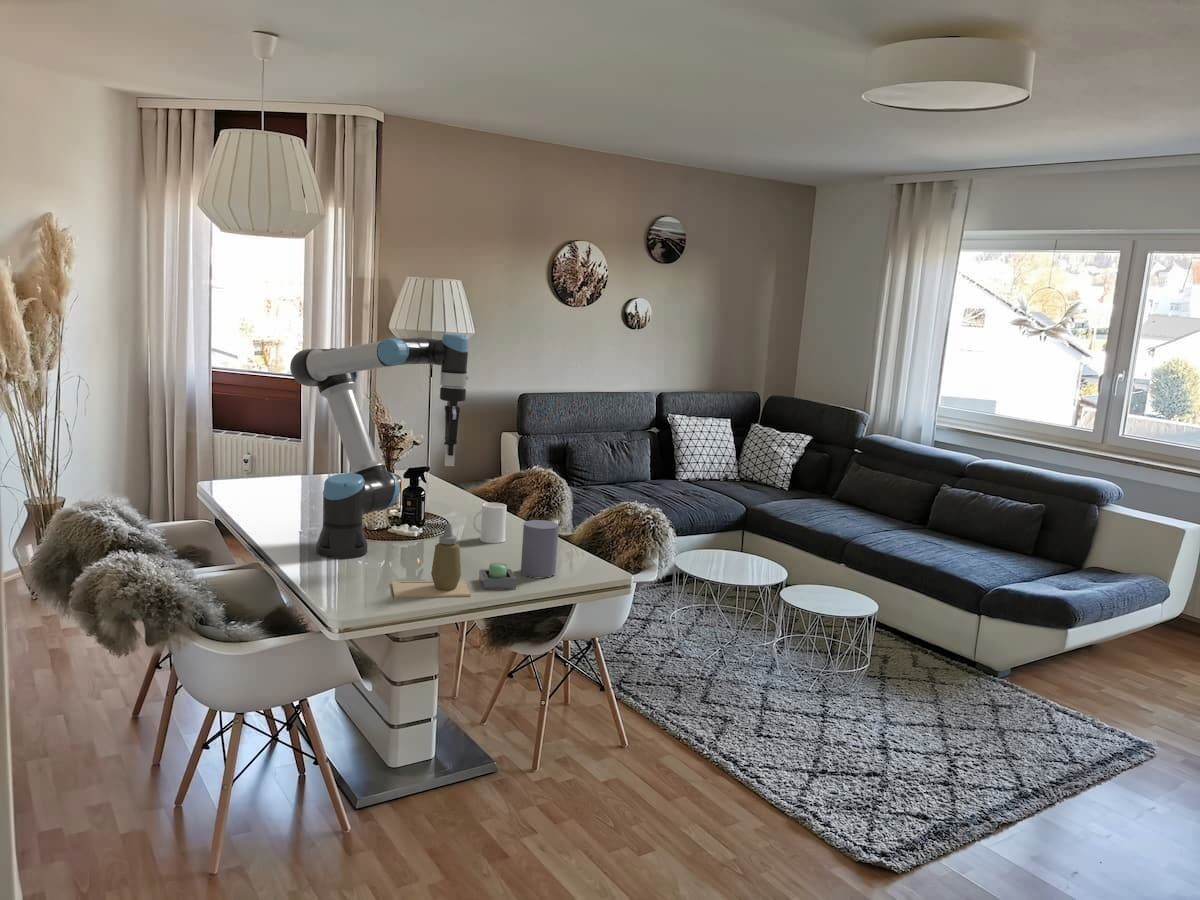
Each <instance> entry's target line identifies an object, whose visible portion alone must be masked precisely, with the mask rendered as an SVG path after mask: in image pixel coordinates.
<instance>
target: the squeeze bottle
mask: <svg viewBox="0 0 1200 900" xmlns="http://www.w3.org/2000/svg"><path fill="white" fill-rule="evenodd" d="M457 540H458V537H457V536H456V535H455V534H453V529H452V523H450V522H447V523H446V524H445V528H444V532H443V534H441V535H439V537H438V543H437V544H436V545H434V546H435V548H434V552H433V561H432V566H431V573H430V574H431V578H432V581H433V582H434V586H435V588H437V589H440V590H452V589H455V588H456V587H457V584H458V582H459V581H460V579H461V577H462V569H461V565H462V563H461V550H460V549H461V546H460V545H459V544H458V543H457Z"/></svg>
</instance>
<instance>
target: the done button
mask: <svg viewBox="0 0 1200 900" xmlns="http://www.w3.org/2000/svg"><path fill="white" fill-rule="evenodd" d="M488 568H489V578H495V577H507V569H508V565H507V564H506V563H502V562H492V563H490V564H489V567H488Z"/></svg>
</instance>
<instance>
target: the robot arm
mask: <svg viewBox="0 0 1200 900" xmlns="http://www.w3.org/2000/svg"><path fill="white" fill-rule="evenodd" d="M468 356H469V338H468V336H467V335H465V334H456V333H454V334H453V333H445V334H443V335H442V339H436V338H429V337H420V336H419V337H411V338H409V337H408V338H403V337H402V338H401V337H400V338H398V337H390V338H385V339H383V340H381V341H380V340H379V341H376V342H371V343H364V344H358V345H352V346H347V347H346V346H345V347H340V348H335V347H333V348H332V347H331V348H330V347H329V348H307V349H302V350H299V351H298V352H296V353H295V354H294V355H293V357H292V359H291V361H290V367H289V368H290V369H289V370H290V373H291V376H292V377H293V379H294V380H295V381H296V382H297V383H298V384H301V385H303V386H305V387H317V389H318V391H319V394H320V396H321V397H323V398H325V399H326V400H327V402H328V405H329V408H330V411H331V414H332V417H333V420H334V423H335V426H336V429H337V431H338V434H339V437H340V440H341V443H342V446H343V449H344V452H345V455H346V457H347V460H348V463H349V466H350V469H351V470H350V472H347V473H338V474H334V475H331V476H329V477H328V478H326V479H325V481H324V483H323V490H322V500H323V501H322V529H321V531H320V533H319V536H318V539H317V542H316V543H315V544H316V545H315V553H316V555H319V556H321V557H325V558H328V559H329V558H331V559H353V558H358V557H362V556H364V555H367V553H368V547H369V546H368V545H369V544H368V542H367V539H366V535H365V531H364V529H363V528H364V527H363V522H364V521H363V519H364V515H366V514H369V513H374V512H381V511H383V510H386V509H389V508H391V507H393V506H394V505H395V504H396V502H397V501H398V497H399V496H400V491H401V489H400V482H399V480H398V477H396V475H395V474H393V473H392V472H390V471H388V470H387V468H386V465H385V463H384V462H382V461H379V460H378V456H377V454H376V452H375V448H374V445H373V442H372V439H371V436H370V434H369V431H368V427H367V425H366V423H365V419H364V417H363V413H362V411H361V408H360V405H359V402H358V400H357V396H356V394H355V389H356V386H357V382H356V380H357V378H358V377H359V375H358V373H359V372H363V371H369V370H374V369H381V368H387V367H389V368H390V367H396V366H404V365H405V366H406V365H425V364H426V365H437V366H440V370H441V371H440V379H439V381H440V385H441V387H440V388H439V399H440V400H442V401H443V402H444V401H445V402H446V405H444V412H445V415H444V420H445V421H444V423H445V425H444V427H445V428H444V429H445V430H444V432H445V433H444V440H445V441H444V442H443V444H444V446H445V447H444V466H445V467H455V458H456V444H457V442H458V441H457V439H458V426H459V418H460V410H461V408H460V406H458V403H459V402H464V401H466V399H467V398H466V396H467V389H466V386H467V380H469V376H467V374H468V370H467V369H468V368H467V367H468Z"/></svg>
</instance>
